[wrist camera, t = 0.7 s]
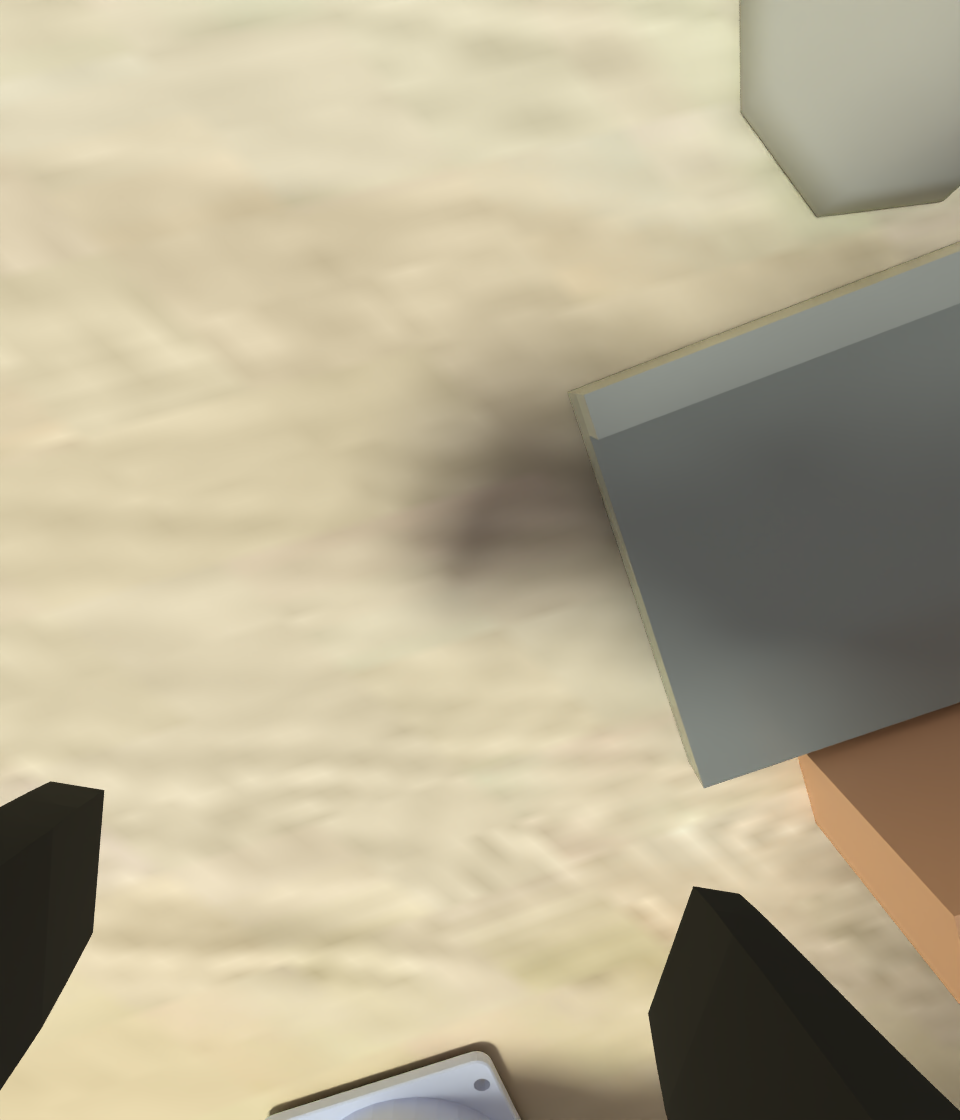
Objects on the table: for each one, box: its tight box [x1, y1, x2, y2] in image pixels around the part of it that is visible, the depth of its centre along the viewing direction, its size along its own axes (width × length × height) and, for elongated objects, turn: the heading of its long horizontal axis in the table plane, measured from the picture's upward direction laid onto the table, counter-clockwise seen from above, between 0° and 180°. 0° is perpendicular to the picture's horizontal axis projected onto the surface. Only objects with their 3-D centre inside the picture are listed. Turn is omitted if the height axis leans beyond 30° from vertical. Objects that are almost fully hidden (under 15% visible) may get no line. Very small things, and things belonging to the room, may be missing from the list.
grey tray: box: [568, 242, 960, 788], centre depth 16 cm, size 11×14×2 cm
